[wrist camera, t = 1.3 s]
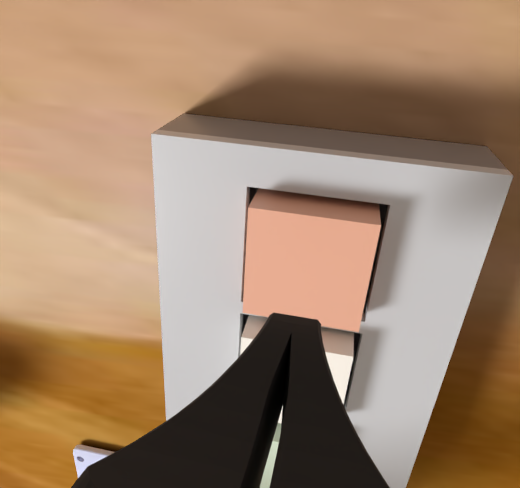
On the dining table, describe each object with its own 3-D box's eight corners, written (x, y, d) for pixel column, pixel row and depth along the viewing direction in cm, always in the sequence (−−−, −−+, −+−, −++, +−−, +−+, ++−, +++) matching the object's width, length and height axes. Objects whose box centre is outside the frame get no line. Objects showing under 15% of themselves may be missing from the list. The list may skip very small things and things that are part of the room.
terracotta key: (358, 298, 19) (358, 332, 17) (253, 281, 19) (242, 312, 17) (378, 199, 17) (380, 225, 15) (260, 184, 17) (248, 207, 15)
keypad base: (387, 470, 26) (391, 529, 23) (189, 429, 28) (169, 479, 25) (486, 146, 17) (513, 175, 14) (183, 113, 19) (151, 133, 16)
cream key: (338, 396, 21) (337, 434, 19) (247, 379, 22) (236, 414, 20) (353, 321, 19) (353, 356, 17) (252, 305, 20) (241, 337, 18)
